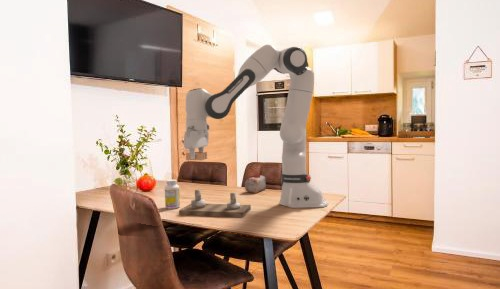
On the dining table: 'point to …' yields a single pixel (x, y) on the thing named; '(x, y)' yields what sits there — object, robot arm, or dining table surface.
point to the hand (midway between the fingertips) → (196, 158)
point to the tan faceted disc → (197, 156)
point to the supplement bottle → (172, 195)
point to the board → (215, 208)
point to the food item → (255, 184)
